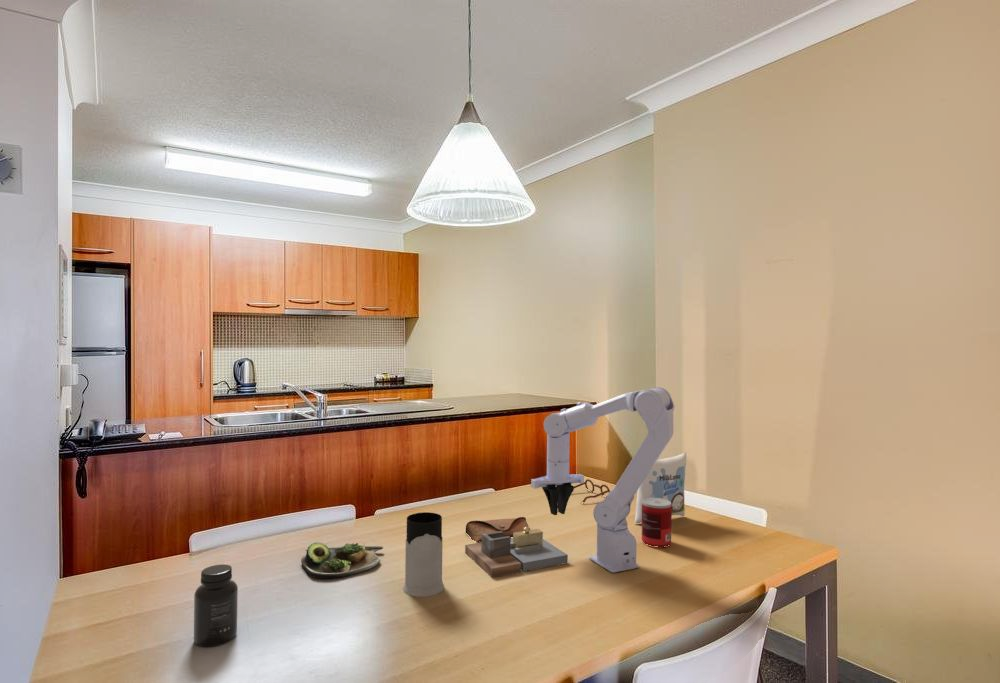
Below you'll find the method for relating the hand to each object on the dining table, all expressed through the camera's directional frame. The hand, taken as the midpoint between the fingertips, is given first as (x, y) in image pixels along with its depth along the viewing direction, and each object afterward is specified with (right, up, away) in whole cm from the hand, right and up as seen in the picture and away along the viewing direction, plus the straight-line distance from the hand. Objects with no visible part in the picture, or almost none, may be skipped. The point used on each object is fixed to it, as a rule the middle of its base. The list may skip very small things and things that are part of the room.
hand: (557, 513), depth 141 cm
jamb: (-17, -9, -8) cm, 21 cm away
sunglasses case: (-14, -10, +11) cm, 21 cm away
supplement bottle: (-65, -9, -43) cm, 78 cm away
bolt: (-8, -7, -4) cm, 11 cm away
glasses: (+14, -11, +50) cm, 53 cm away
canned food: (+27, -10, +6) cm, 29 cm away
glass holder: (-32, -9, -20) cm, 38 cm away
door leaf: (-7, -9, -3) cm, 12 cm away
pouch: (+34, -10, +25) cm, 43 cm away
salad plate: (-53, -9, -10) cm, 55 cm away
